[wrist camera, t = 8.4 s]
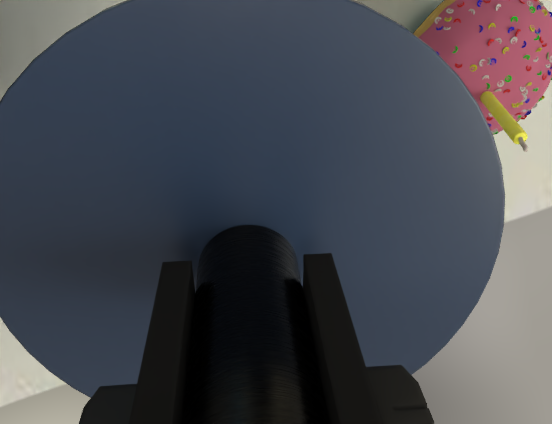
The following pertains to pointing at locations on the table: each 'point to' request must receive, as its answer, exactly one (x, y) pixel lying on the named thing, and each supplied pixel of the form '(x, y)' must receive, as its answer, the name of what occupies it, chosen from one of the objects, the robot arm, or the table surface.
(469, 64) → the cupcake
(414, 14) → the table surface
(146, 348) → the robot arm
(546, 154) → the table surface
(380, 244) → the pot lid
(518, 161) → the table surface
